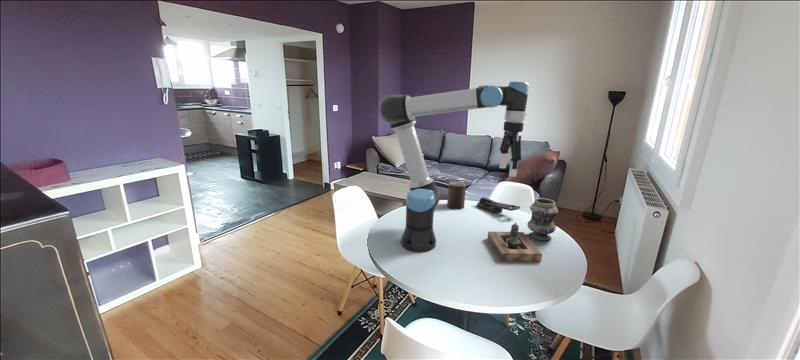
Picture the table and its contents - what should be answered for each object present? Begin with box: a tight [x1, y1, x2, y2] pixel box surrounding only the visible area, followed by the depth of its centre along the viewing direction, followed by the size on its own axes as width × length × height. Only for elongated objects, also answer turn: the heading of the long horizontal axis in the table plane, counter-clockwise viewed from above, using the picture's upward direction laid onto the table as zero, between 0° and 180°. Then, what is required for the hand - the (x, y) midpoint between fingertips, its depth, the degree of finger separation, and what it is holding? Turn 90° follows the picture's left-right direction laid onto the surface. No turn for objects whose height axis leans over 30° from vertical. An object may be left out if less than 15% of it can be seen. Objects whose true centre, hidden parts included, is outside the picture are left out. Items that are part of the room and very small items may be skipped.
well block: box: [487, 231, 543, 263], centre depth 141 cm, size 16×20×4 cm
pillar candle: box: [446, 181, 467, 211], centre depth 188 cm, size 10×10×15 cm
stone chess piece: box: [506, 222, 521, 249], centre depth 140 cm, size 6×6×12 cm
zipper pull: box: [476, 196, 521, 215], centre depth 182 cm, size 9×7×25 cm
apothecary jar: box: [526, 197, 559, 243], centre depth 151 cm, size 12×12×18 cm
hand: (507, 172), depth 139 cm, fingers open, 13 cm apart
